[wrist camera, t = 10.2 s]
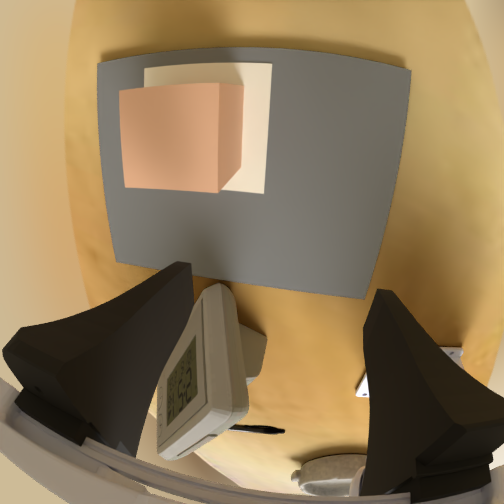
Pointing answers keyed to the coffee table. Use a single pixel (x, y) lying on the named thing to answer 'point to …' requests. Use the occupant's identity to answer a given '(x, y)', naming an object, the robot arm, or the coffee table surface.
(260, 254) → the mat
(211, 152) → the block
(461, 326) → the coffee table surface
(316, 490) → the dish
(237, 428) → the pen
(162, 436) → the digital clock
